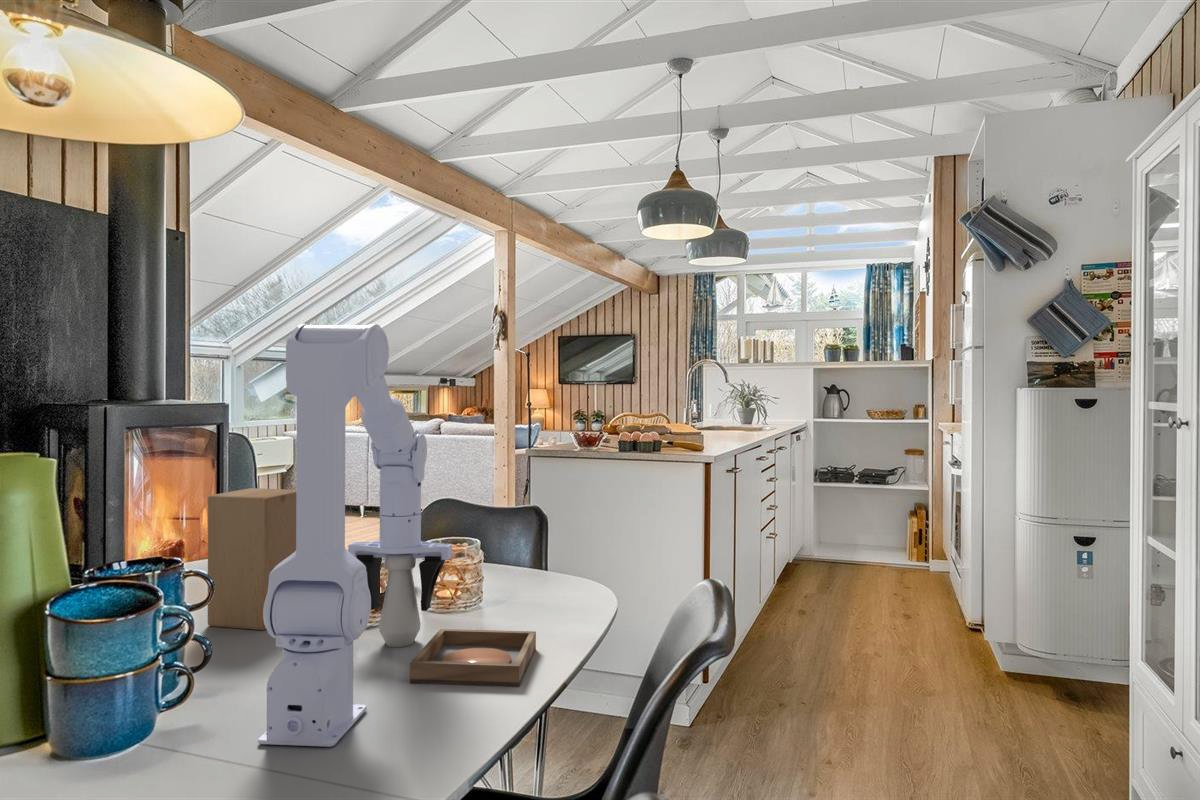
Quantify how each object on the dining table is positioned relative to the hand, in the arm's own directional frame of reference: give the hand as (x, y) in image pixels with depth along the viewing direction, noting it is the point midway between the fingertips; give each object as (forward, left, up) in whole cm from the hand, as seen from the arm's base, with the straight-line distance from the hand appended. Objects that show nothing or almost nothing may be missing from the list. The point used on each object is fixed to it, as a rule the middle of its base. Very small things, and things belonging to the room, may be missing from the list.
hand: (400, 608), depth 109 cm
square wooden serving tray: (-8, -13, -5) cm, 16 cm away
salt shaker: (0, 0, -5) cm, 5 cm away
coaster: (-8, -13, -5) cm, 16 cm away
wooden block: (+9, +26, -5) cm, 28 cm away
